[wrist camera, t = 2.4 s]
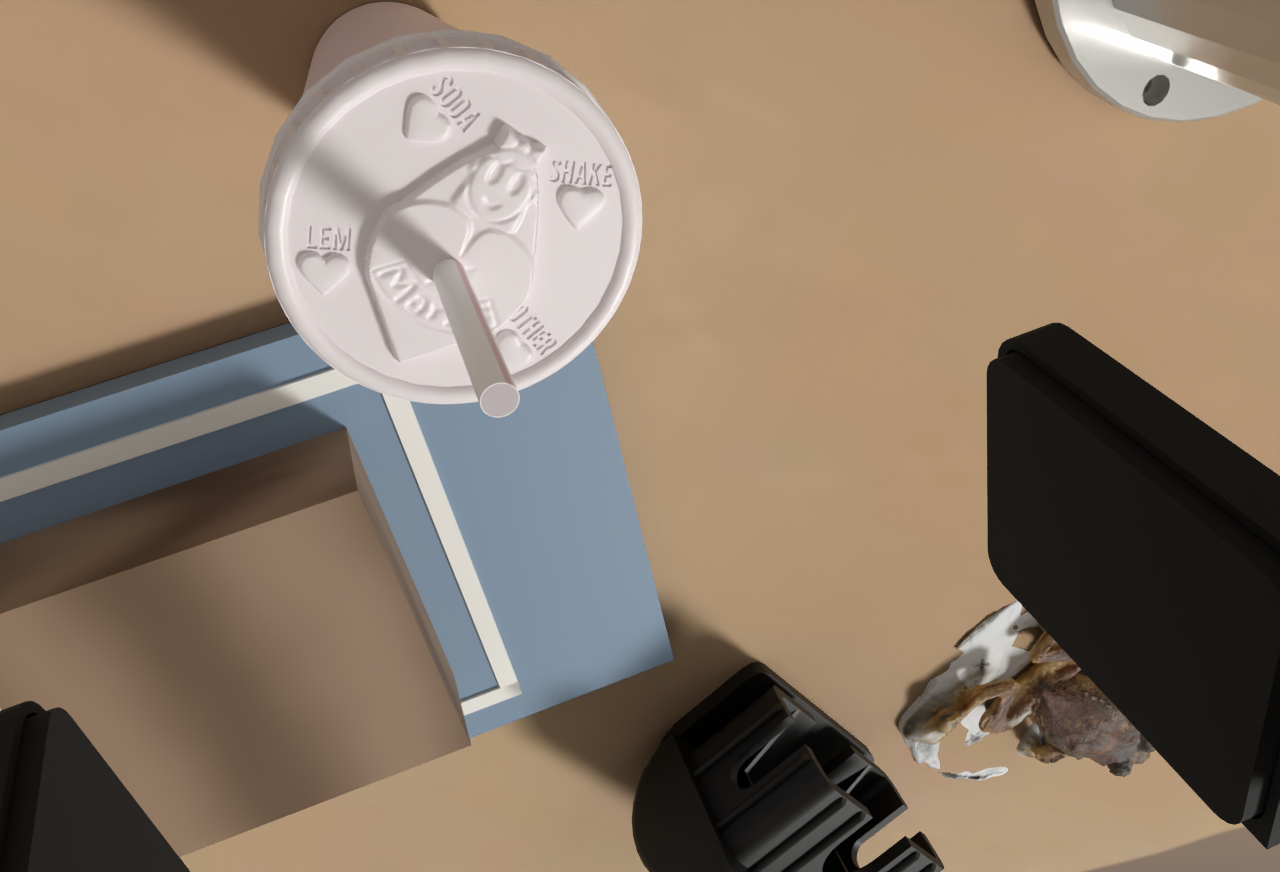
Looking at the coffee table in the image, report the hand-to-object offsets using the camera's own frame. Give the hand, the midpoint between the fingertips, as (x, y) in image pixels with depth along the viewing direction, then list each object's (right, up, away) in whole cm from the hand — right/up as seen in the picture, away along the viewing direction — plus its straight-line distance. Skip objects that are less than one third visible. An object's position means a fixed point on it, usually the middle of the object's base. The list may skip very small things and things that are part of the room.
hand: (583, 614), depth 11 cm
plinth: (-11, -3, +22) cm, 24 cm away
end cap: (+5, -11, +33) cm, 35 cm away
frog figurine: (+17, -8, +37) cm, 41 cm away
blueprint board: (-9, -2, +22) cm, 24 cm away
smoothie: (-5, +10, +15) cm, 19 cm away
